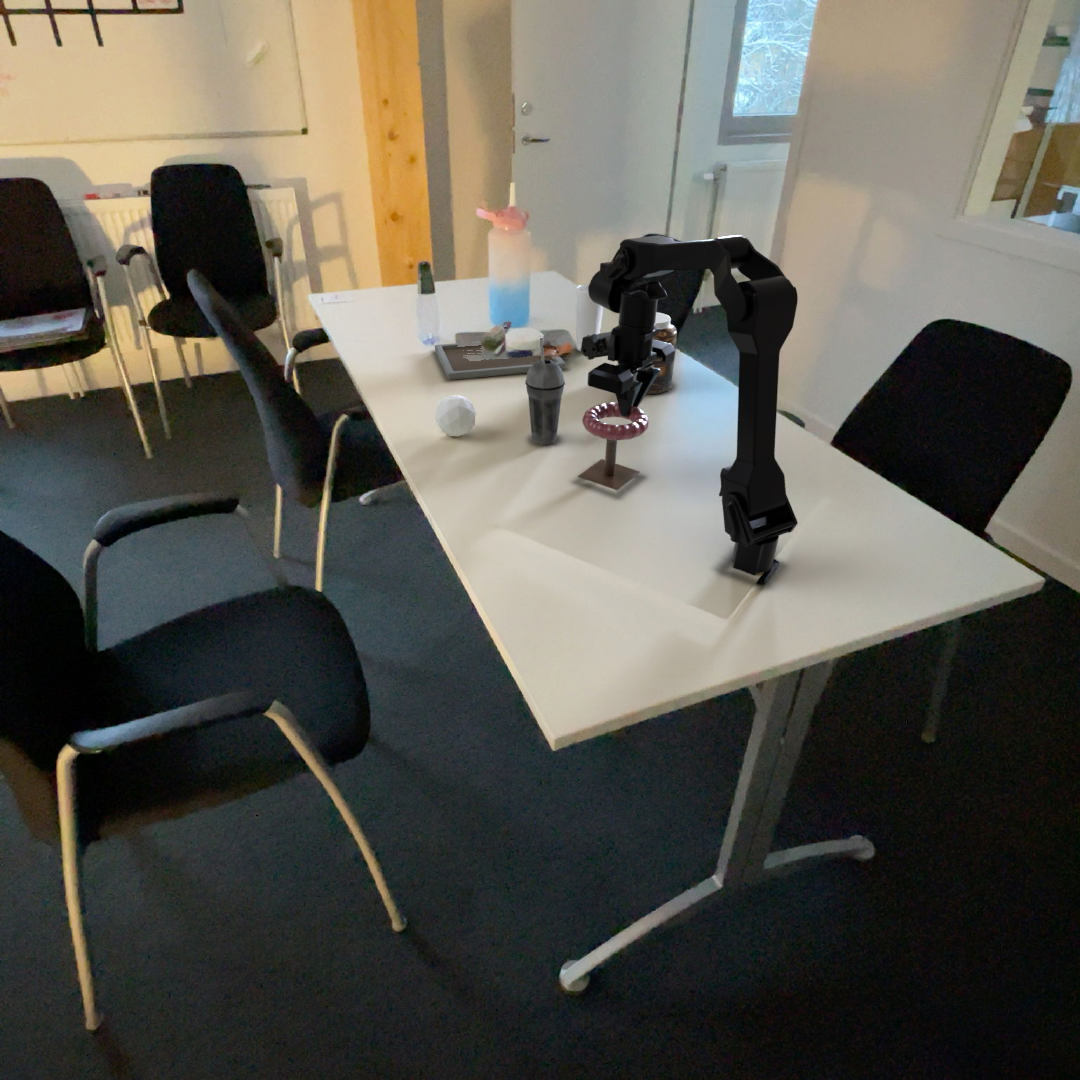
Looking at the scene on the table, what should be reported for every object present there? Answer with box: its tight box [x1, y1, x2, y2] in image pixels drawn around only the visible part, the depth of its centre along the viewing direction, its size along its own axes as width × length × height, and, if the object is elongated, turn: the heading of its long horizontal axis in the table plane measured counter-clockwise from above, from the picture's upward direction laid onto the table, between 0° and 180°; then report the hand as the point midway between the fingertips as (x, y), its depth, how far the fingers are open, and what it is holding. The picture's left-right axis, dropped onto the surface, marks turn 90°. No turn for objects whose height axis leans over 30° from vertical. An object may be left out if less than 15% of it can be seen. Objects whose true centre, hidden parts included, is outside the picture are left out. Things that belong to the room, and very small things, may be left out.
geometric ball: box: [434, 394, 477, 438], centre depth 141 cm, size 8×8×8 cm
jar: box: [645, 311, 678, 395], centre depth 161 cm, size 12×12×15 cm
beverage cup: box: [524, 338, 566, 446], centre depth 136 cm, size 7×7×20 cm
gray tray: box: [434, 341, 566, 381], centre depth 176 cm, size 19×2×30 cm
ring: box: [581, 402, 650, 441], centre depth 123 cm, size 11×11×2 cm
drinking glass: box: [574, 283, 604, 353], centre depth 179 cm, size 7×7×15 cm
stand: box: [577, 439, 641, 491], centre depth 127 cm, size 8×8×8 cm
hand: (628, 413), depth 125 cm, fingers closed on ring, 2 cm apart
